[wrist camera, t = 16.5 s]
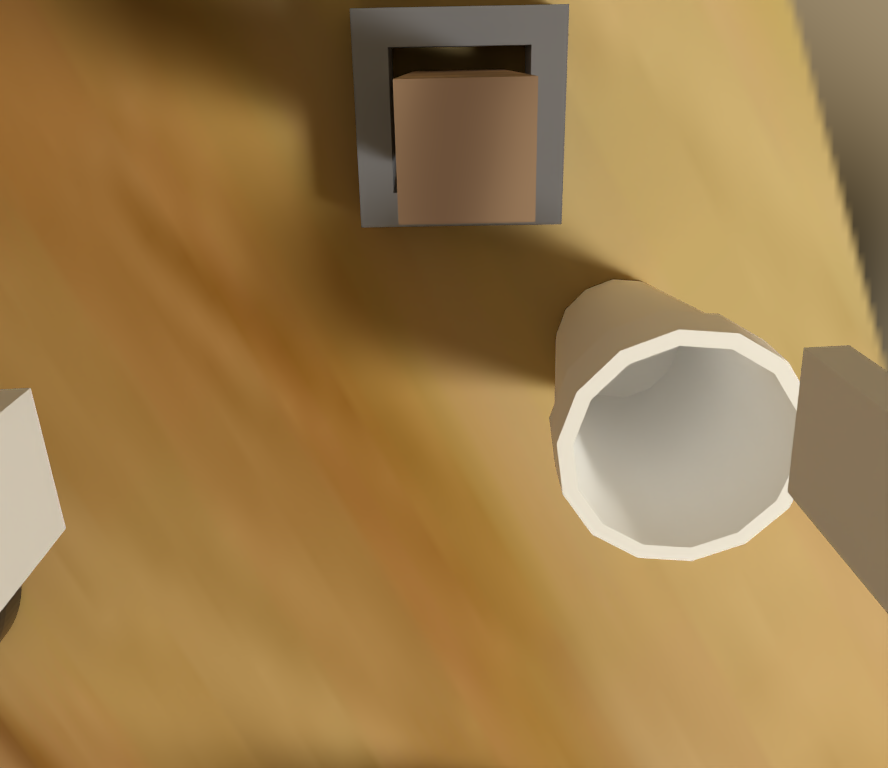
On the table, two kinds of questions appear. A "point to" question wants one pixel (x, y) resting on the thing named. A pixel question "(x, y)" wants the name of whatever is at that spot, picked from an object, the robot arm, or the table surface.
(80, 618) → the table surface
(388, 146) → the gray square frame
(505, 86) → the walnut rod
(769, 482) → the foam cup
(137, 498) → the table surface
